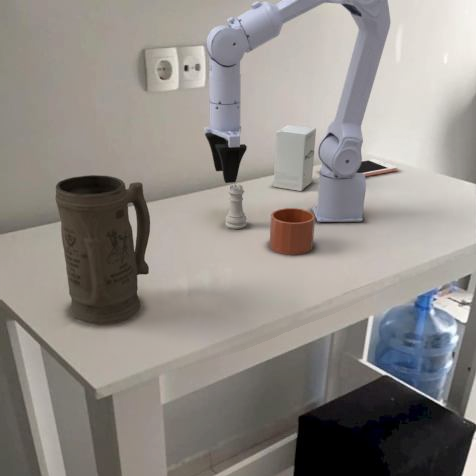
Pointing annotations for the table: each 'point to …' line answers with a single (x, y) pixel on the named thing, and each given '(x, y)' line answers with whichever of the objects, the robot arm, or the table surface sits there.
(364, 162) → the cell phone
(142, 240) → the beer stein
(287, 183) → the white packaging box
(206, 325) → the table surface
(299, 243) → the cup
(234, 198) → the rook chess piece
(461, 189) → the table surface
